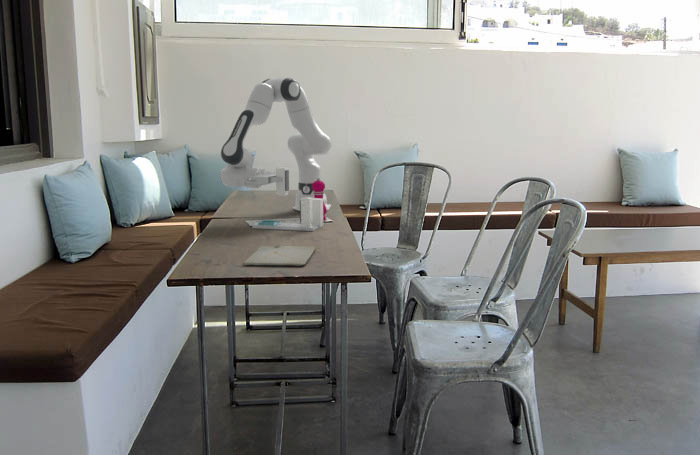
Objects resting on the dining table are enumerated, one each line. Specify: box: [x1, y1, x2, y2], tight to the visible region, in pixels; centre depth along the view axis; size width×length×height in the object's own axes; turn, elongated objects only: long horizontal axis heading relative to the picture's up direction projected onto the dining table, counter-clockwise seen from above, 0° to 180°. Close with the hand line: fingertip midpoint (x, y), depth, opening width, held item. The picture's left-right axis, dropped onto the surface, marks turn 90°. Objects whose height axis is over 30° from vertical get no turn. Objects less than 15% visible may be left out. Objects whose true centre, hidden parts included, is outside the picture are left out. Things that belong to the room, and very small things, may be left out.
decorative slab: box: [243, 245, 317, 267], centre depth 217 cm, size 27×21×2 cm
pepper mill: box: [312, 177, 328, 222], centre depth 288 cm, size 7×7×20 cm
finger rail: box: [251, 197, 320, 232], centre depth 270 cm, size 8×28×14 cm, turn 74°
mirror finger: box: [313, 198, 324, 228], centre depth 274 cm, size 4×5×12 cm
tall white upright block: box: [275, 166, 290, 196], centre depth 276 cm, size 4×5×12 cm
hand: (283, 179), depth 275 cm, fingers closed on tall white upright block, 4 cm apart
